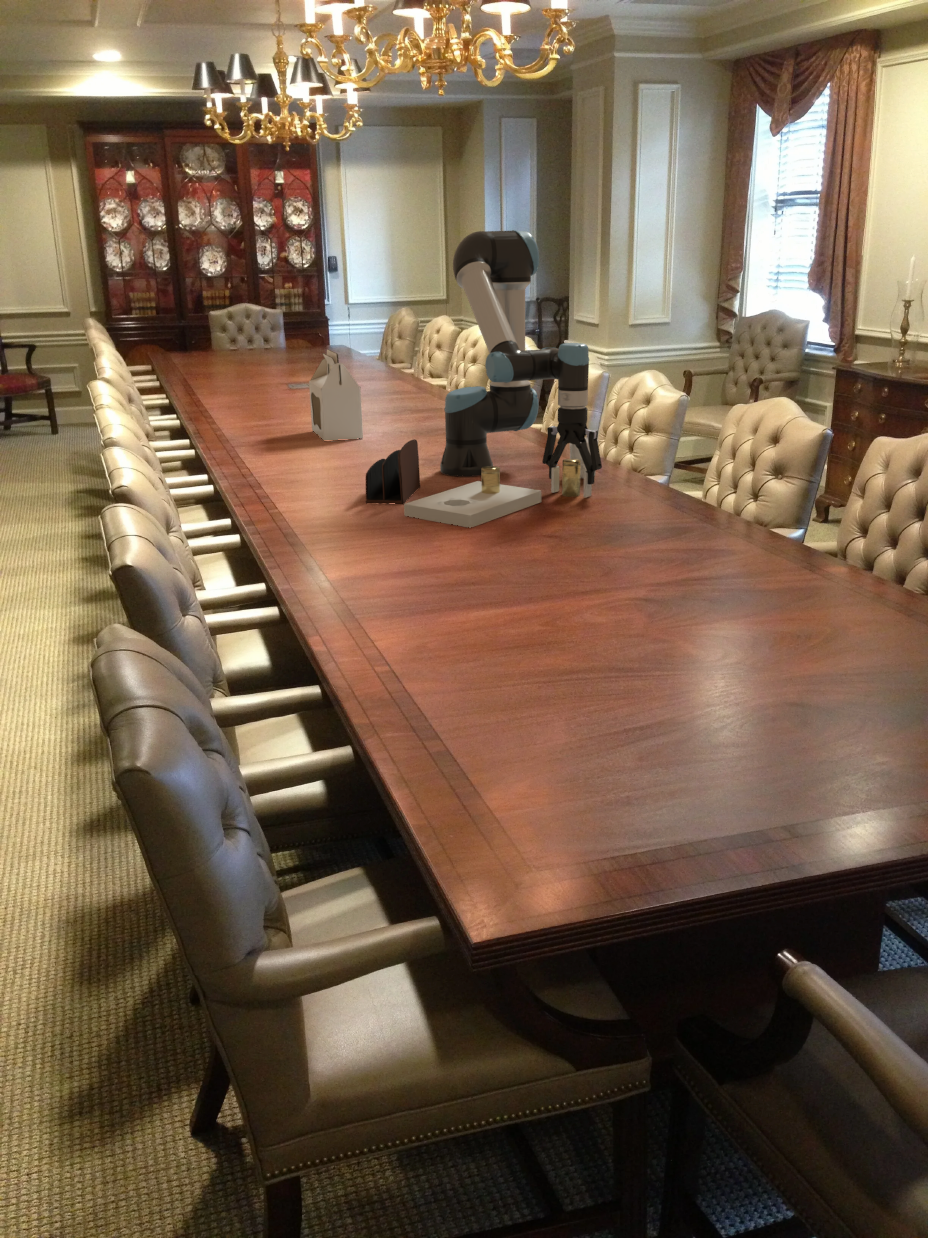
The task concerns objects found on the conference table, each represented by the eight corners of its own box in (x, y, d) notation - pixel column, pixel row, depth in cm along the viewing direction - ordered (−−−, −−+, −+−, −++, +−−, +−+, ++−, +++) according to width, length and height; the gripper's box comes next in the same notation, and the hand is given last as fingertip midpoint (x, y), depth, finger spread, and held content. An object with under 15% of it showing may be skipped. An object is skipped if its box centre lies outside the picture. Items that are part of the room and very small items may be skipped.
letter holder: (420, 487, 287) (418, 435, 282) (403, 505, 268) (401, 450, 264) (384, 486, 288) (382, 434, 284) (365, 504, 270) (362, 449, 265)
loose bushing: (558, 495, 275) (559, 460, 272) (568, 491, 278) (568, 457, 275) (573, 497, 272) (574, 462, 269) (583, 494, 276) (584, 459, 273)
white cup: (596, 479, 292) (597, 443, 288) (567, 478, 293) (568, 442, 290) (598, 473, 299) (599, 437, 296) (570, 472, 301) (571, 437, 297)
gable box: (312, 431, 371) (306, 349, 362) (348, 428, 375) (344, 347, 365) (324, 442, 351) (319, 355, 342) (363, 439, 355) (359, 353, 346)
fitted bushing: (478, 503, 268) (477, 468, 265) (488, 500, 271) (488, 465, 268) (492, 506, 265) (492, 470, 262) (503, 502, 268) (503, 467, 265)
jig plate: (404, 515, 257) (404, 503, 256) (477, 492, 280) (477, 480, 279) (470, 527, 246) (470, 515, 245) (541, 501, 268) (541, 490, 267)
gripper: (528, 405, 271) (528, 491, 279) (602, 411, 259) (600, 502, 266) (544, 401, 277) (543, 486, 284) (618, 407, 264) (615, 496, 272)
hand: (571, 493), depth 275 cm, fingers open, 9 cm apart
